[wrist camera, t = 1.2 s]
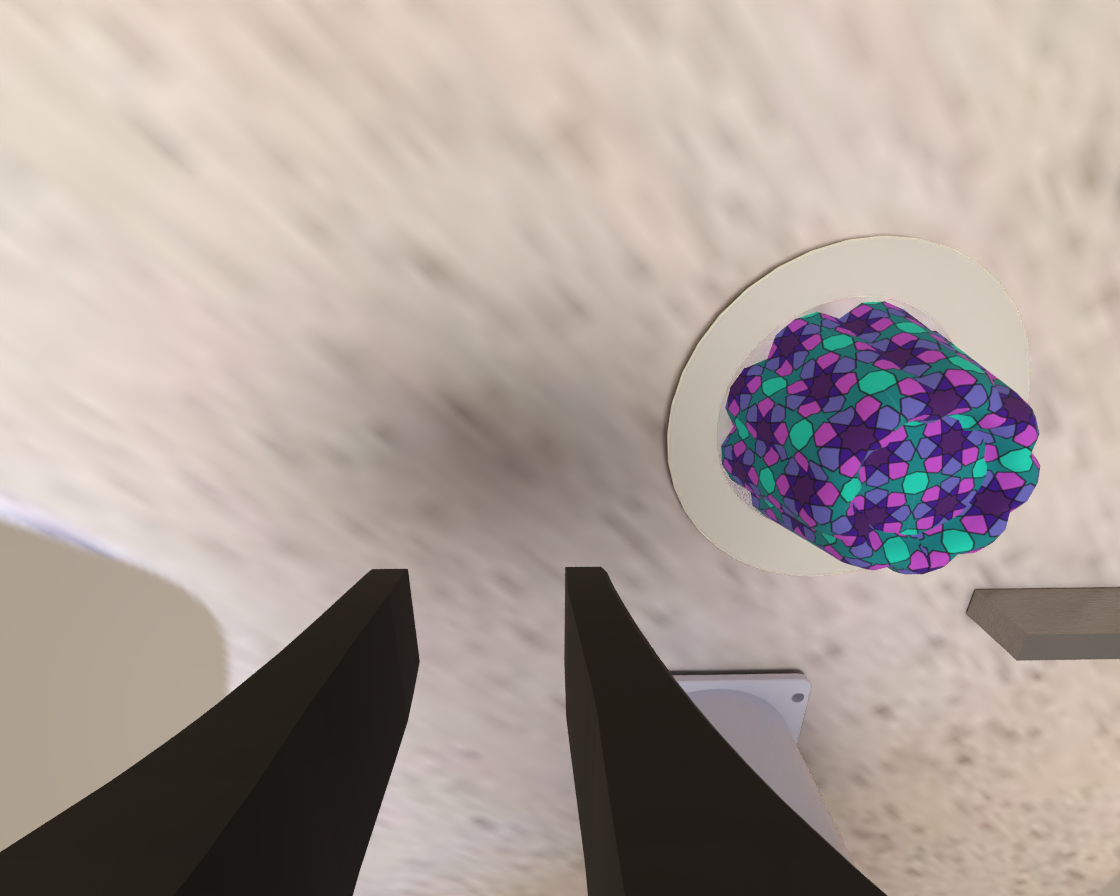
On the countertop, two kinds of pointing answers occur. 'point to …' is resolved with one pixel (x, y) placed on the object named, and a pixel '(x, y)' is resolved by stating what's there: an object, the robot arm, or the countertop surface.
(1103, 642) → the grey u-shaped frame
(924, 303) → the pudding
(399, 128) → the countertop surface
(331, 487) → the countertop surface
